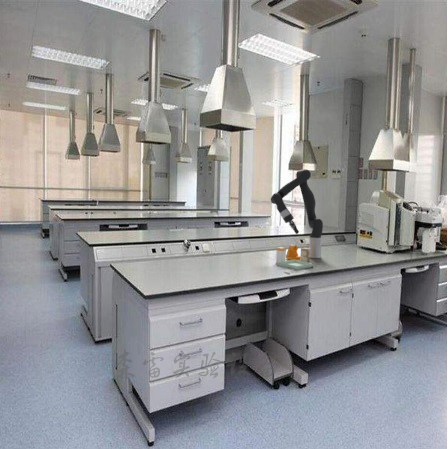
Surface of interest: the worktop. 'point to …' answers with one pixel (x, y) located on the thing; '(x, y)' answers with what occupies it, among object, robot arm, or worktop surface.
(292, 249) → the bracket
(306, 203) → the robot arm
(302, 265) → the tray
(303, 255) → the plain box
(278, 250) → the labelled box
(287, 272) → the worktop surface
